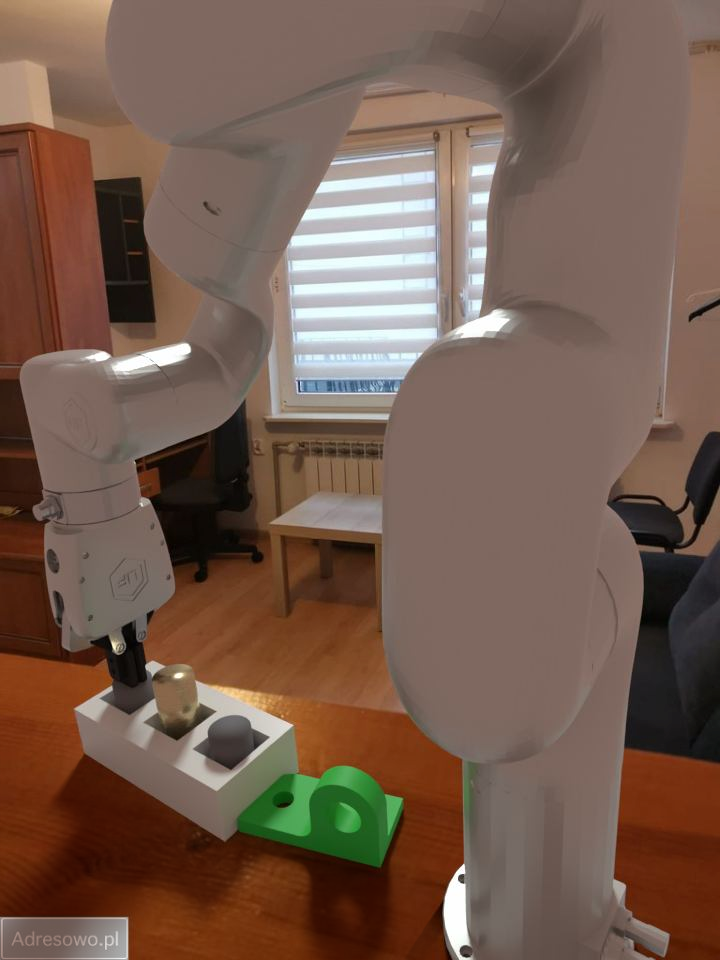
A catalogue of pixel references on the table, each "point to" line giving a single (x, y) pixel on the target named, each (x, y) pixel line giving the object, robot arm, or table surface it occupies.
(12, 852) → the table surface
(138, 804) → the table surface
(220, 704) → the white peg holder block
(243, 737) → the near knob
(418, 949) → the table surface
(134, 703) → the far knob
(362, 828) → the mechanical part
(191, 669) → the brass knob
